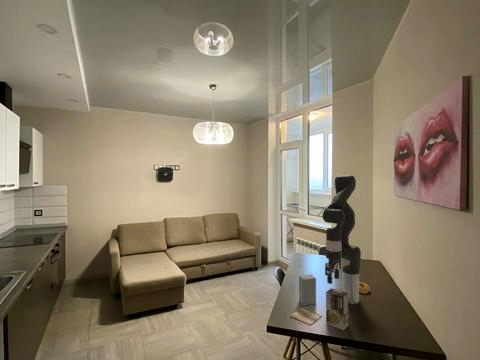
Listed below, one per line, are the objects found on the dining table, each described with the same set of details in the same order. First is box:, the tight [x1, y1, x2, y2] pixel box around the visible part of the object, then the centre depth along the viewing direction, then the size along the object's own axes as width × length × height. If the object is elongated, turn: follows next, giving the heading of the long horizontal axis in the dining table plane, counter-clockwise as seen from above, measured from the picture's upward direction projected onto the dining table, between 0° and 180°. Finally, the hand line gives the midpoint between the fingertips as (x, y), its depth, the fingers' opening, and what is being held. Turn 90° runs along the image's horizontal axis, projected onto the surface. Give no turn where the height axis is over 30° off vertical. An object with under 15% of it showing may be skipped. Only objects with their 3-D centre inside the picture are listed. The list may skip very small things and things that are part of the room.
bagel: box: [359, 281, 371, 294], centre depth 169 cm, size 10×11×5 cm
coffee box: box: [325, 288, 349, 331], centre depth 129 cm, size 9×6×16 cm
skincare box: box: [298, 273, 317, 307], centre depth 151 cm, size 8×7×16 cm
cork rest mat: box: [289, 307, 323, 326], centre depth 136 cm, size 12×12×1 cm
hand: (333, 280), depth 130 cm, fingers open, 8 cm apart
